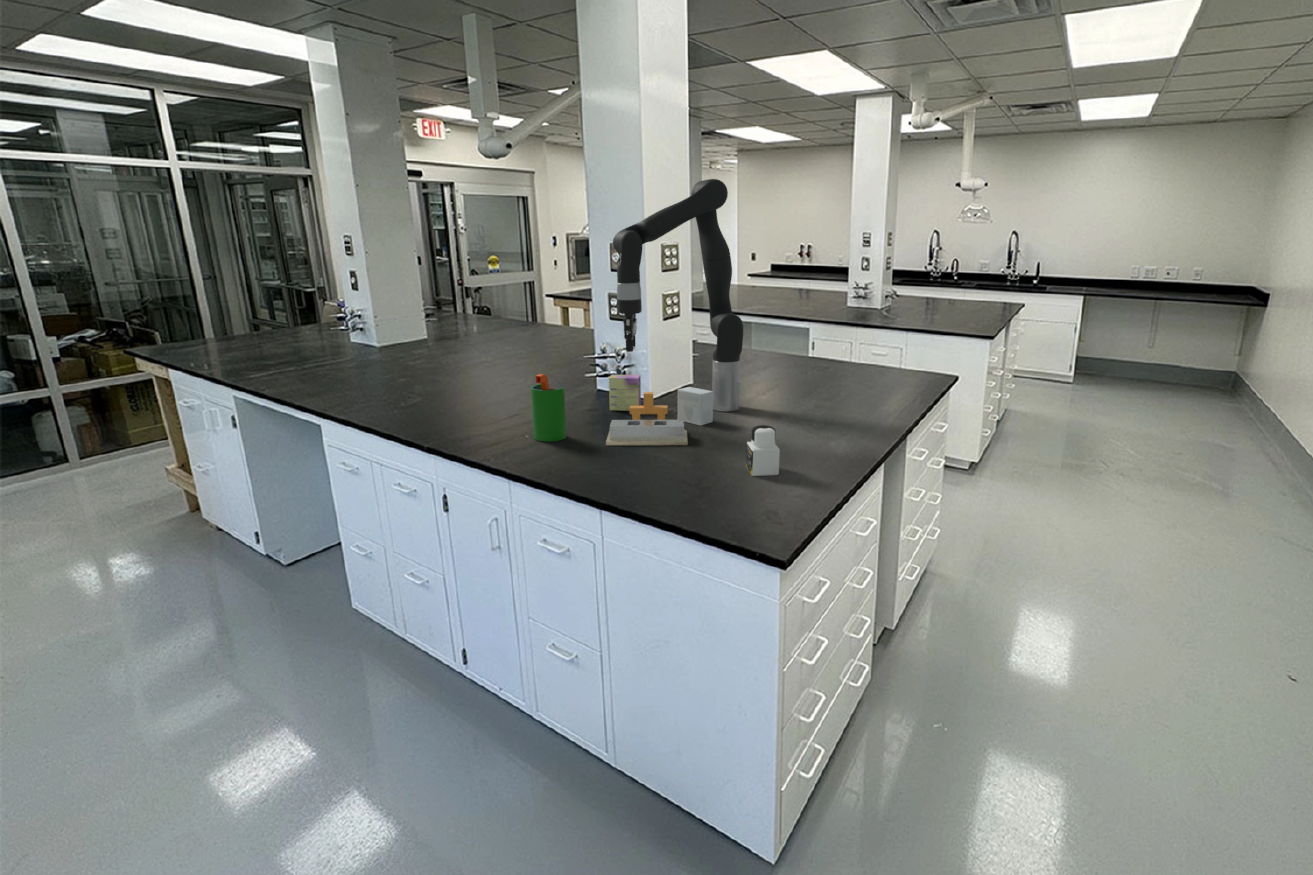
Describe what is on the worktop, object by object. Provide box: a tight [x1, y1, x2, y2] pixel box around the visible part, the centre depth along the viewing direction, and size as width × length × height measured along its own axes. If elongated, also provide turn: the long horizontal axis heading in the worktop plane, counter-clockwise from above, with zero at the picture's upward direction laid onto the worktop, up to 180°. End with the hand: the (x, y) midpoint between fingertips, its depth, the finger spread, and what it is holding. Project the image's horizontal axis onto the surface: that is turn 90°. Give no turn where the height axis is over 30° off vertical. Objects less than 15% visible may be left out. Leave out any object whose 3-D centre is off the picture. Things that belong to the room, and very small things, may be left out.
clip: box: [629, 391, 669, 420], centre depth 208 cm, size 12×3×11 cm, turn 89°
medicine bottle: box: [745, 424, 781, 477], centre depth 169 cm, size 7×7×12 cm
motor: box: [530, 373, 567, 442], centre depth 197 cm, size 10×9×20 cm
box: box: [608, 374, 642, 412], centre depth 228 cm, size 10×6×12 cm, turn 84°
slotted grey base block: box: [605, 419, 689, 446], centre depth 196 cm, size 24×12×5 cm, turn 89°
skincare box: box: [676, 386, 714, 427], centre depth 213 cm, size 10×6×10 cm, turn 47°
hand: (630, 349), depth 209 cm, fingers open, 8 cm apart
